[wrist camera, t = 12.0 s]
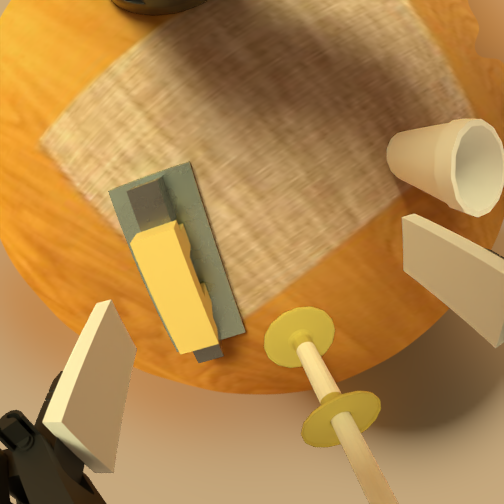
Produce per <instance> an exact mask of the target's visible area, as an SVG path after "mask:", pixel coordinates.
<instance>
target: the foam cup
mask: <svg viewBox="0 0 504 504" xmlns="http://www.w3.org/2000/svg"><path fill="white" fill-rule="evenodd" d="M387 163H388V165H389V168H390V171H391V172H392V173H393V174H394V175H395V176H396V177H397V178H399V179H400V180H403V181H405V182H407V183H409V184H411V185H413V186H415V187H417V188H418V189H420V190H422V191H424V192H426V193H428V194H430V195H432V196H434V197H436V198H437V199H439V200H441V201H443V202H445V203H447V204H448V206H449V207H450V208H453V209H455V210H458V211H461V212H464V213H466V214H469V215H472V216H475V217H480V216H482V215H485V214H487V213H489V212H490V211H491V210H492V208H493V207H494V206H495V204H496V203H497V202H498V200H499V199H500V196H501V193H502V189H503V186H504V149H503V145H502V142H501V140H500V138H499V136H498V134H497V133H496V131H495V129H494V127H492V126H491V125H490V124H488V123H487V122H485V121H484V120H482V119H457V120H452V121H451V122H450V123H445V124H439V125H433V126H428V127H423V128H418V129H413V130H408V131H403V132H399V133H397V134H396V135H394V136H393V137H392V138H391V139H390V142H389V144H388V147H387Z"/></svg>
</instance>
